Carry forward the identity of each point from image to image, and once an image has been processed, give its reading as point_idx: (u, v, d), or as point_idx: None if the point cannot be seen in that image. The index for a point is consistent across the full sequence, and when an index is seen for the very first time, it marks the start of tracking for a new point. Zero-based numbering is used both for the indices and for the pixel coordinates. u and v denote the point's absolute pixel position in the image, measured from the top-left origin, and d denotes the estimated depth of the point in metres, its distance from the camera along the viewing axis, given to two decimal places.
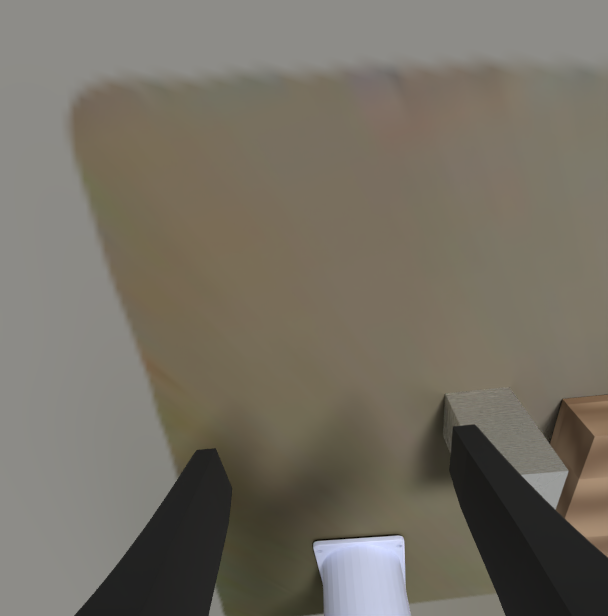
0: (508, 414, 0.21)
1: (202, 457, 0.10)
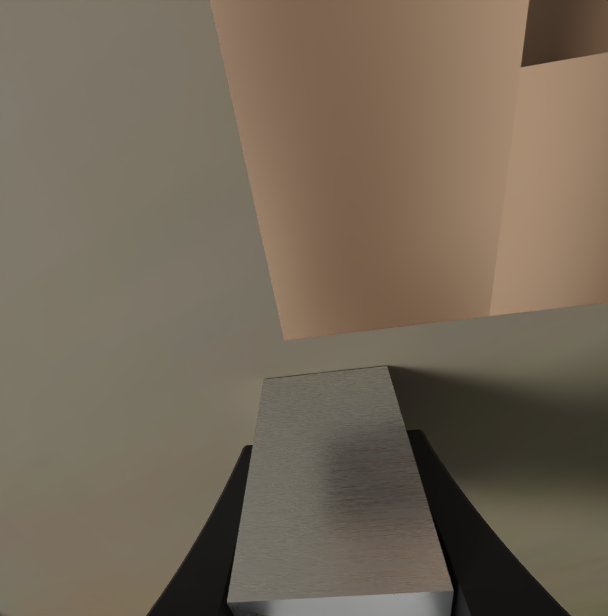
0: None
1: None
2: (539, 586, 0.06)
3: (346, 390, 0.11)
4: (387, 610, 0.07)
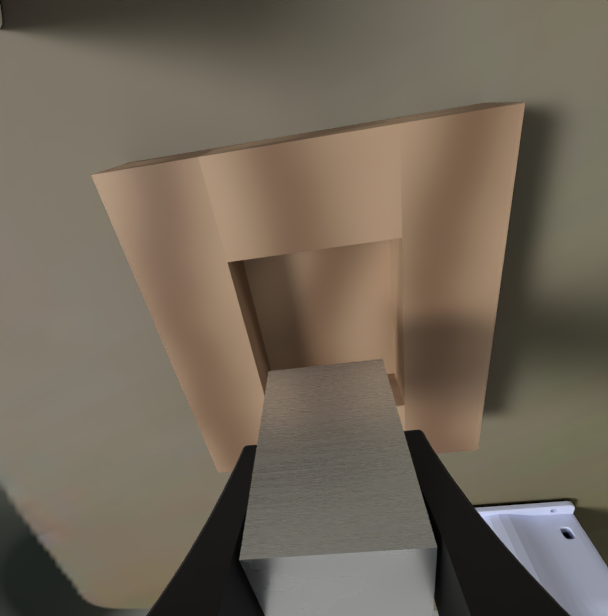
0: None
1: (252, 453, 0.10)
2: (539, 586, 0.06)
3: (345, 380, 0.12)
4: (380, 567, 0.07)
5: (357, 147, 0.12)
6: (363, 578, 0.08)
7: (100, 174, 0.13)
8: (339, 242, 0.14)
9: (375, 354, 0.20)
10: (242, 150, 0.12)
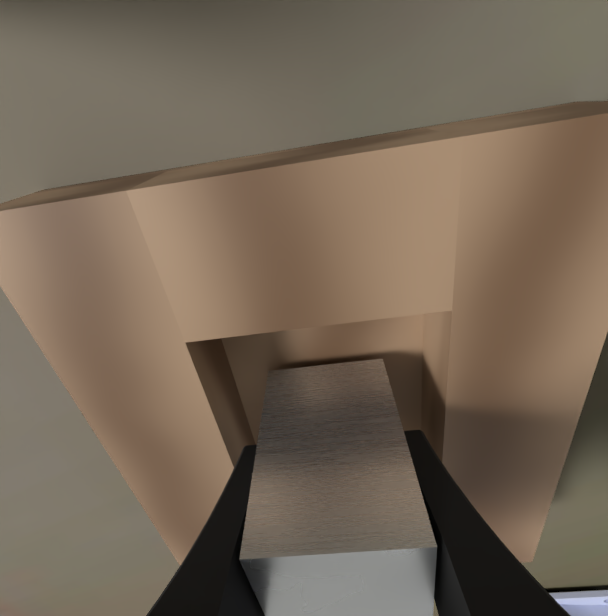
0: None
1: (252, 453, 0.10)
2: (539, 586, 0.06)
3: (345, 380, 0.12)
4: (380, 567, 0.07)
5: (388, 176, 0.07)
6: (363, 578, 0.08)
7: None
8: (355, 316, 0.09)
9: None
10: (198, 180, 0.07)
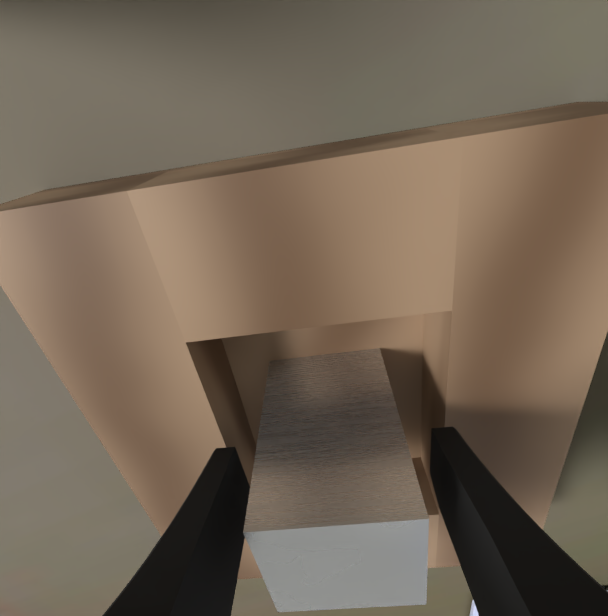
0: None
1: (222, 456, 0.10)
2: (596, 583, 0.06)
3: (343, 368, 0.12)
4: (375, 539, 0.08)
5: (388, 176, 0.07)
6: (360, 550, 0.08)
7: None
8: (355, 316, 0.09)
9: None
10: (198, 180, 0.07)
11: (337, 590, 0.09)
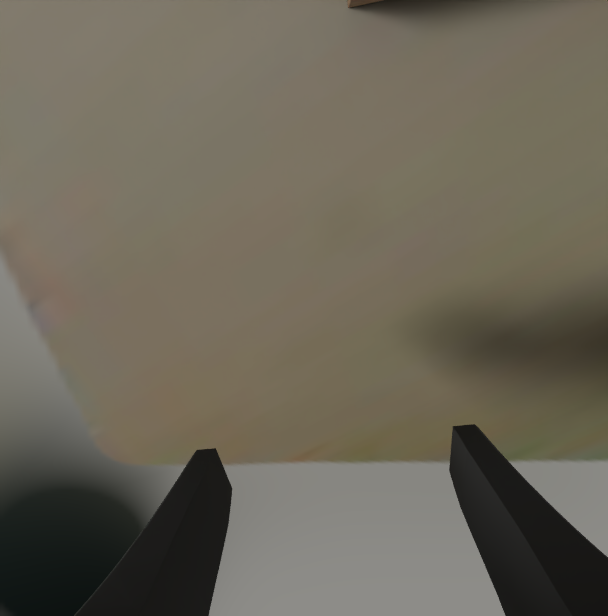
0: None
1: (202, 457, 0.10)
2: None
3: None
4: None
5: None
6: None
7: None
8: None
9: None
10: None
11: None
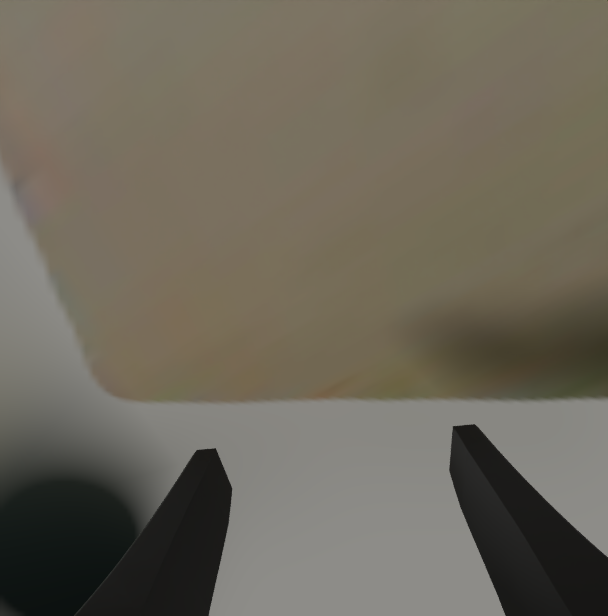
0: None
1: (202, 457, 0.10)
2: None
3: None
4: None
5: None
6: None
7: None
8: None
9: None
10: None
11: None
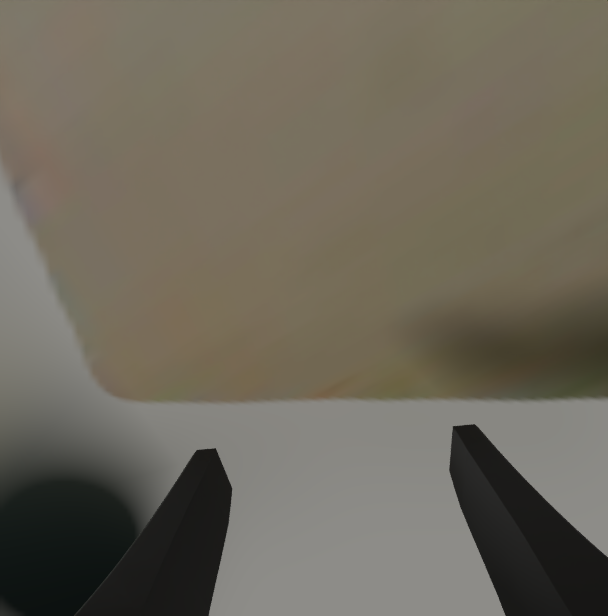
0: None
1: (202, 457, 0.10)
2: None
3: None
4: None
5: None
6: None
7: None
8: None
9: None
10: None
11: None
